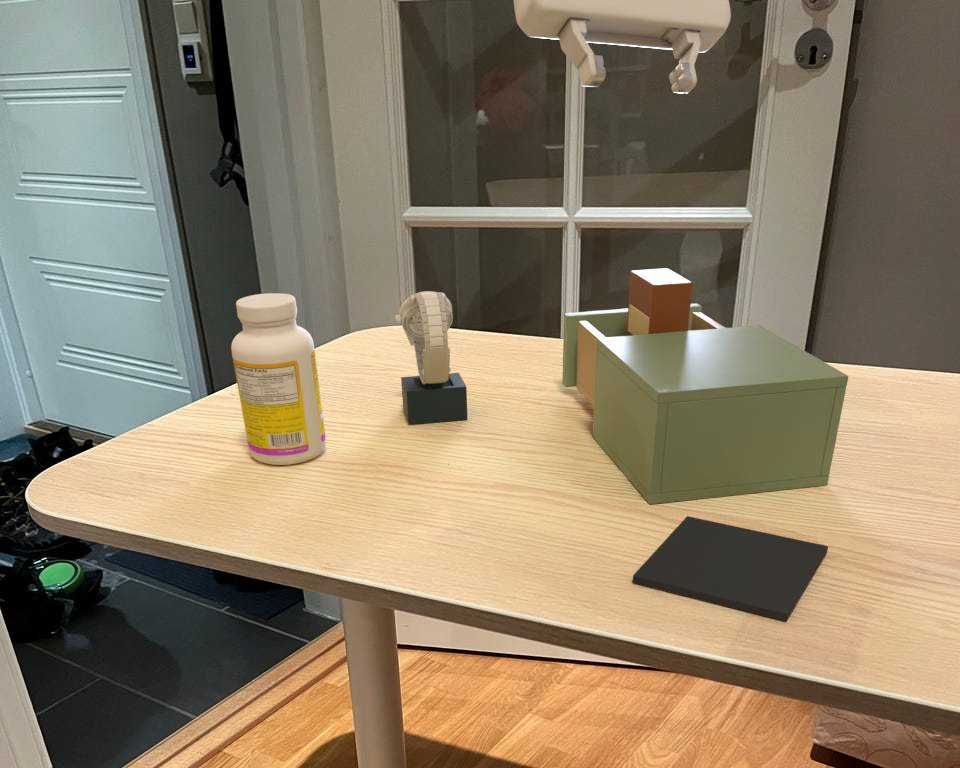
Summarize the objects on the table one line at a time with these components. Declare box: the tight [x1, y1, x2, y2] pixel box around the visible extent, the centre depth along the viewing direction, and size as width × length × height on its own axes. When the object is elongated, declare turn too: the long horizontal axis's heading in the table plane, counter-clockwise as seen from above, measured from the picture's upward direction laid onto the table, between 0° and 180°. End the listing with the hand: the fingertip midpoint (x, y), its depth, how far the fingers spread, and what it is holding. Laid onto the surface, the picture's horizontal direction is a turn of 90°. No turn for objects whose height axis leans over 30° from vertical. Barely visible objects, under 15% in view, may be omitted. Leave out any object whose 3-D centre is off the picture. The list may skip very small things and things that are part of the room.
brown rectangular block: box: [627, 267, 693, 336], centre depth 84 cm, size 6×4×10 cm, turn 11°
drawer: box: [561, 302, 726, 408], centre depth 88 cm, size 18×13×7 cm
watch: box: [395, 290, 468, 426], centre depth 85 cm, size 6×8×11 cm
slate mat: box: [632, 515, 829, 622], centre depth 62 cm, size 10×10×1 cm
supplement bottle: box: [230, 292, 327, 466], centre depth 78 cm, size 7×7×13 cm
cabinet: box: [592, 324, 849, 505], centre depth 75 cm, size 15×15×9 cm
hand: (640, 86), depth 80 cm, fingers open, 8 cm apart
